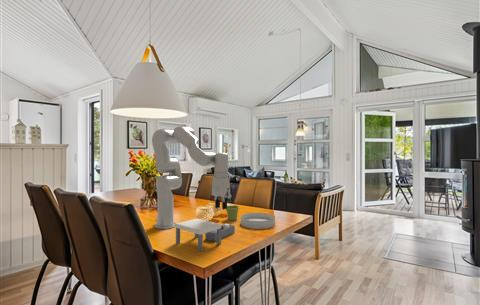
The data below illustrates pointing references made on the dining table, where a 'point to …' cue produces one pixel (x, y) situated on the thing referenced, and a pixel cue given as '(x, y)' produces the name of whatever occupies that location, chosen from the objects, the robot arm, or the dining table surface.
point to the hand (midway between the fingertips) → (221, 208)
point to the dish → (257, 220)
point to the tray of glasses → (225, 232)
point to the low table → (198, 230)
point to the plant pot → (232, 212)
